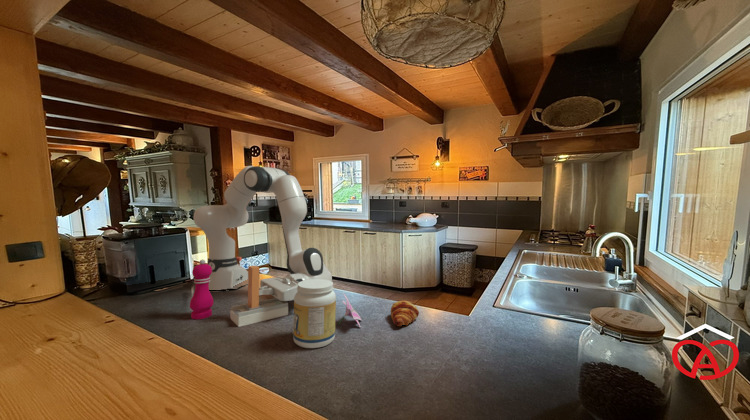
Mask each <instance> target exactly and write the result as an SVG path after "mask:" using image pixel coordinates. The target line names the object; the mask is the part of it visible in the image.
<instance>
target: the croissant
mask: <svg viewBox="0 0 750 420" xmlns="http://www.w3.org/2000/svg"><path fill="white" fill-rule="evenodd" d="M419 314H420V310H419V309H418V308H417V306H415V305H414V304H413V303H412V302H410V301H408V300H406V299H405V300H399V301H397V302H393V303H392V305H391V307H390V317H391V319H392V322H393V324H394V325H395V326H398V327H403V326H402V325H406V326H409V325H410V324H412V323H413V322H414V321H415V320H416V319H417V318H418V317H419ZM412 321H413V322H412ZM411 322H412V323H411ZM409 323H410V324H409ZM408 324H409V325H408Z"/></svg>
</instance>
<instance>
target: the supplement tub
mask: <svg viewBox="0 0 750 420" xmlns="http://www.w3.org/2000/svg"><path fill="white" fill-rule="evenodd" d="M297 291H298V292H297V293H296V294H295V296H294V300H293V334H292V337H293V342H294V343H295V345H297V346H298V347H300V348H305V349H318V348H322V347H325V346H328V345H330V344H331V343H332V342H333V341H334V340H335V337H336V314H337V313H336V311H337V310H336V309H337V307H336V306H337V294H336V293H335V291H334V282H333V280H332V281H329V280H324V279H310V280H304V281H301V282H299V283H298V288H297Z"/></svg>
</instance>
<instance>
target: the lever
mask: <svg viewBox="0 0 750 420" xmlns="http://www.w3.org/2000/svg"><path fill="white" fill-rule="evenodd" d="M247 267H248V268H247V272H248V285H247V303H248V304H247V303H245V304H246V305H244V308H245V309H246V310H248V311H250V310H254V309H259V308H262V307H261V306H260V305H259V301H260V295H259V288H260V267H259V266H257V265H249V266H247Z"/></svg>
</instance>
